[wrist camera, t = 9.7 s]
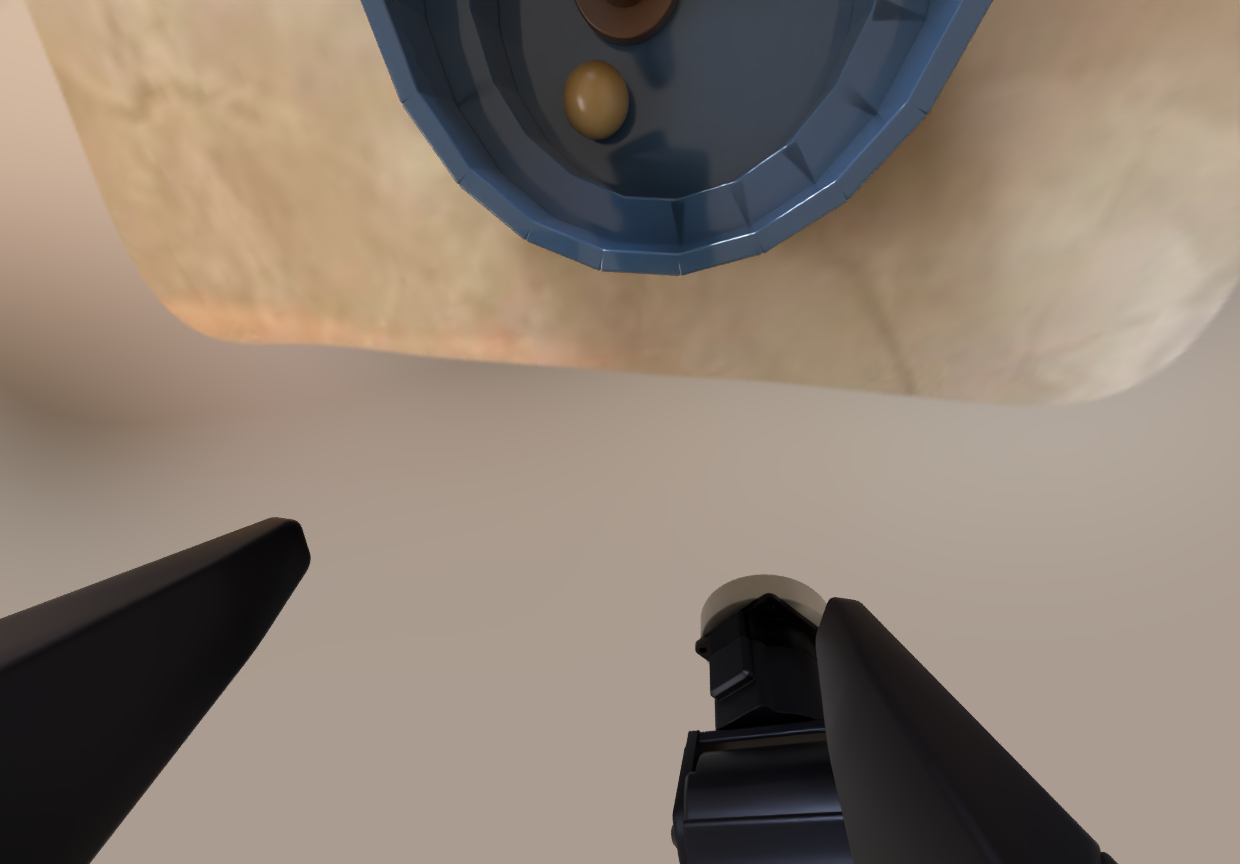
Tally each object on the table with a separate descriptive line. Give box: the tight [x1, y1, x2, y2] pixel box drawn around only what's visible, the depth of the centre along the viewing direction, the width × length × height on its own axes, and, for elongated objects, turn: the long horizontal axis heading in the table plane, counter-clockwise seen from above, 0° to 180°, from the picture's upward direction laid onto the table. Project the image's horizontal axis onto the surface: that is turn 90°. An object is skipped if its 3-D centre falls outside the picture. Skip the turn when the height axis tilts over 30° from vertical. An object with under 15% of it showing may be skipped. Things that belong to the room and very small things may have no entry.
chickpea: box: [563, 60, 629, 140], centre depth 15 cm, size 2×2×2 cm
